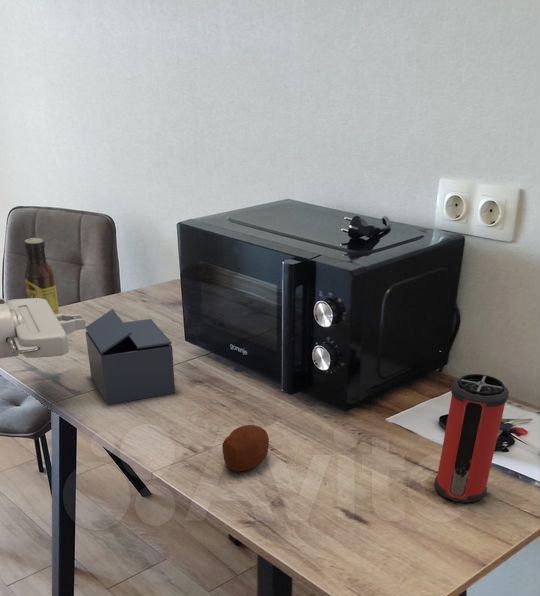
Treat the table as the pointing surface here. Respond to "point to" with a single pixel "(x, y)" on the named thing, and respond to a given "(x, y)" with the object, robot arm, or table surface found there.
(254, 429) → the potato
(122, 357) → the carton
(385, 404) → the table surface
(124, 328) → the flap
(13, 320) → the robot arm
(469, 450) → the speaker
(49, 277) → the sauce bottle
